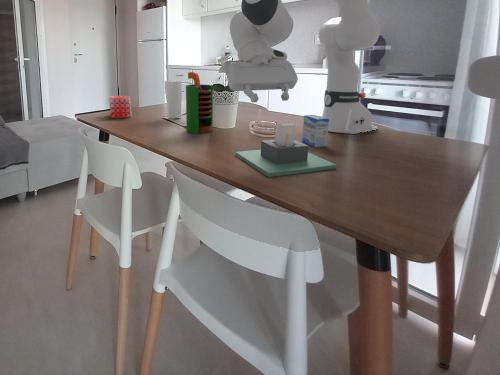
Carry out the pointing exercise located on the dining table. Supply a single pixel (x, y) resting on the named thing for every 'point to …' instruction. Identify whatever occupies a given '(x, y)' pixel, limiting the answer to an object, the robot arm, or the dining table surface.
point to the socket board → (284, 159)
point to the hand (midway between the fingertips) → (271, 100)
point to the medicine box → (315, 130)
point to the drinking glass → (173, 97)
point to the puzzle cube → (120, 106)
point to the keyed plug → (285, 134)
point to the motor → (199, 106)
